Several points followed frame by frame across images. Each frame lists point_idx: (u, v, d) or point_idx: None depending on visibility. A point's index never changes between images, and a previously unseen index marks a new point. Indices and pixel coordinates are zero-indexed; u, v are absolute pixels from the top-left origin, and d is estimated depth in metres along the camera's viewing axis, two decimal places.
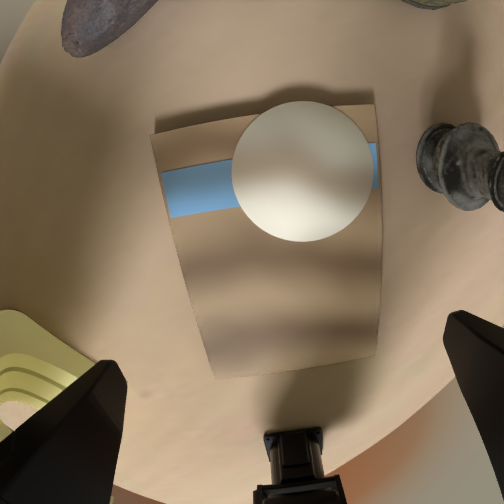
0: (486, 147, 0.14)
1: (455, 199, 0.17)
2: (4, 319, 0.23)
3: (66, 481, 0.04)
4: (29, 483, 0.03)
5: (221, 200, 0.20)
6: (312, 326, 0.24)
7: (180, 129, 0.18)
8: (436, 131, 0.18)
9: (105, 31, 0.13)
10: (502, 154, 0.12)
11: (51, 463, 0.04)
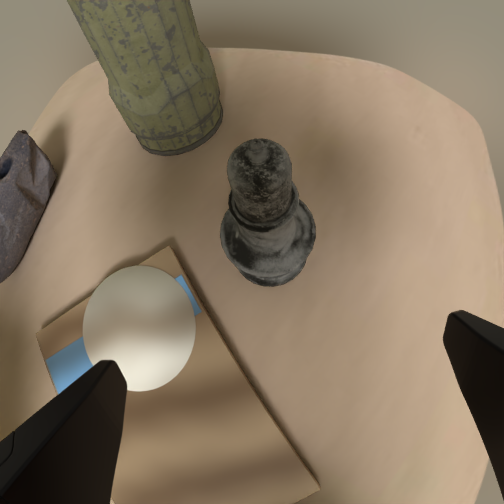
0: None
1: (262, 269, 0.19)
2: None
3: (66, 481, 0.04)
4: (29, 483, 0.03)
5: (84, 371, 0.20)
6: (212, 476, 0.17)
7: (50, 324, 0.21)
8: None
9: None
10: None
11: (51, 462, 0.04)
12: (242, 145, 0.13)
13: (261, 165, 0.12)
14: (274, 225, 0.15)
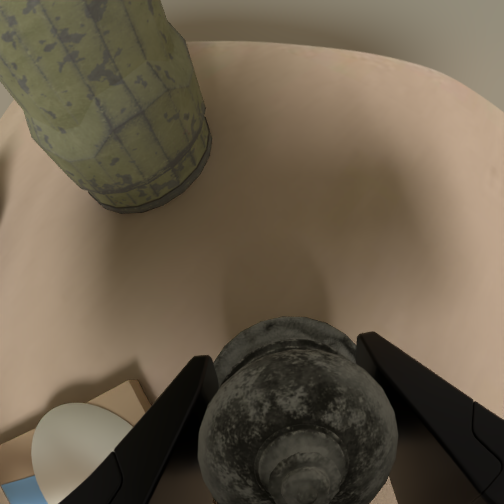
0: None
1: None
2: None
3: (184, 500, 0.04)
4: None
5: None
6: None
7: None
8: None
9: None
10: (224, 381, 0.07)
11: (167, 482, 0.04)
12: (245, 404, 0.03)
13: None
14: None
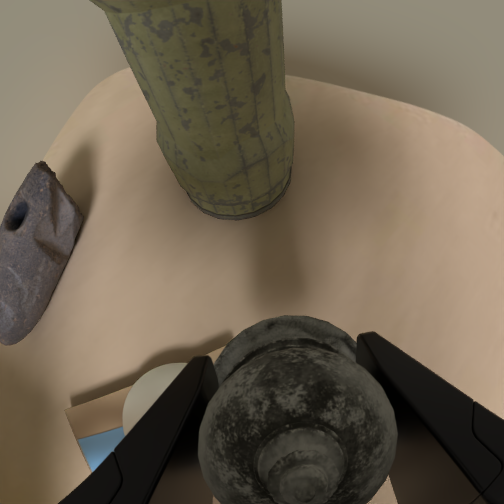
0: None
1: None
2: None
3: (184, 500, 0.04)
4: None
5: None
6: None
7: (82, 404, 0.19)
8: None
9: (13, 326, 0.19)
10: (225, 380, 0.07)
11: (167, 482, 0.04)
12: (245, 402, 0.03)
13: None
14: None
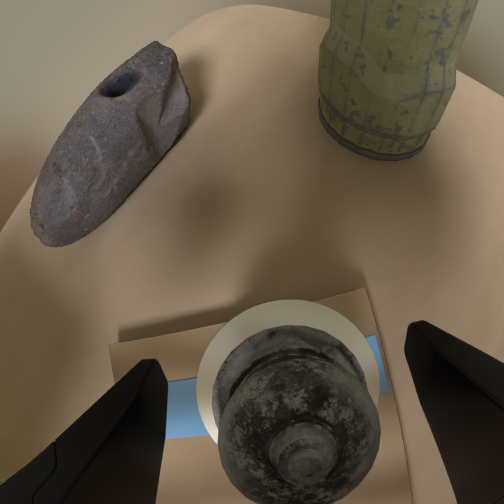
0: None
1: None
2: None
3: (116, 492, 0.04)
4: (80, 499, 0.03)
5: (186, 426, 0.14)
6: None
7: (139, 340, 0.16)
8: None
9: (68, 219, 0.16)
10: (233, 384, 0.08)
11: (100, 474, 0.04)
12: (258, 403, 0.04)
13: None
14: None
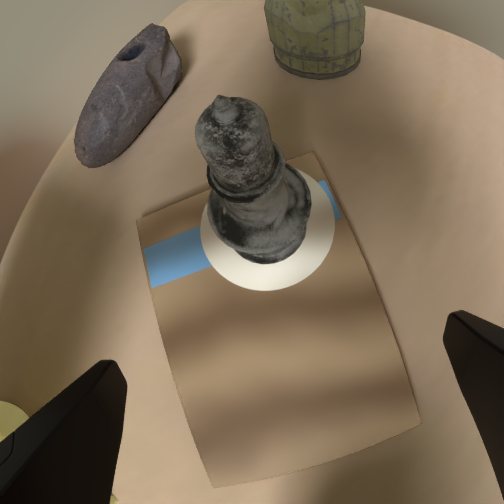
0: None
1: (256, 245, 0.17)
2: (2, 408, 0.20)
3: (66, 481, 0.04)
4: (29, 483, 0.03)
5: (194, 263, 0.21)
6: (320, 395, 0.17)
7: (158, 211, 0.23)
8: None
9: (103, 141, 0.23)
10: None
11: (51, 463, 0.04)
12: (209, 107, 0.11)
13: (230, 124, 0.10)
14: (259, 192, 0.13)
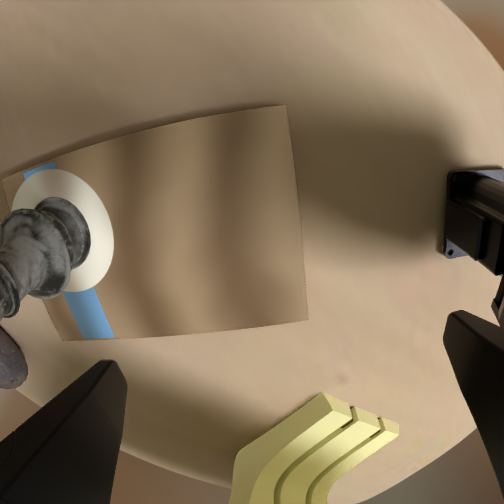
0: None
1: (63, 266, 0.16)
2: (239, 466, 0.30)
3: (66, 481, 0.04)
4: (29, 483, 0.03)
5: (92, 300, 0.21)
6: (220, 209, 0.18)
7: (53, 321, 0.22)
8: None
9: (4, 363, 0.21)
10: None
11: (51, 462, 0.04)
12: None
13: None
14: (9, 283, 0.12)
